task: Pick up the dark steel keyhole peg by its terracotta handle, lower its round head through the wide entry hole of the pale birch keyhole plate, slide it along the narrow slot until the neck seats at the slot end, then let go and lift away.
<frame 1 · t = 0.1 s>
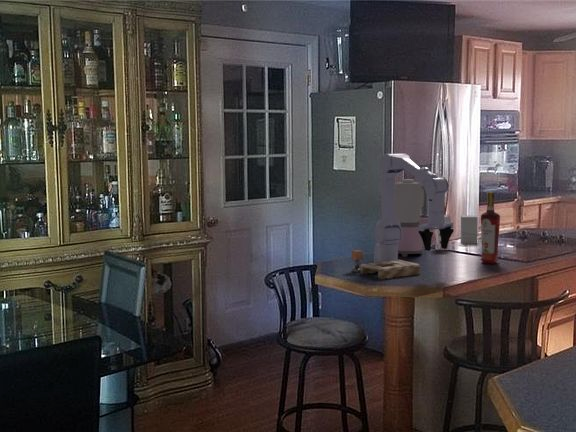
hand: (435, 249, 252), 10 cm above the worktop, fingers open, 7 cm apart
keyhole plate: (390, 274, 260), on the worktop
supplement box: (468, 242, 332), on the worktop
liquor: (489, 263, 279), on the worktop
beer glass: (442, 249, 314), on the worktop
keyhole peg: (357, 271, 266), on the worktop
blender: (410, 254, 303), on the worktop
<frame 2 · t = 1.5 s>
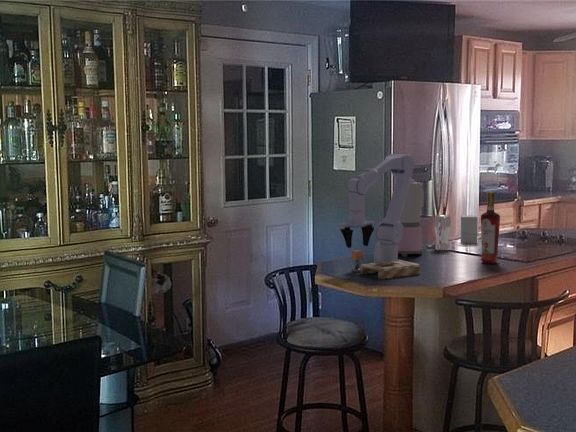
hand: (357, 246, 265), 9 cm above the worktop, fingers open, 7 cm apart
nothing on the worktop moved.
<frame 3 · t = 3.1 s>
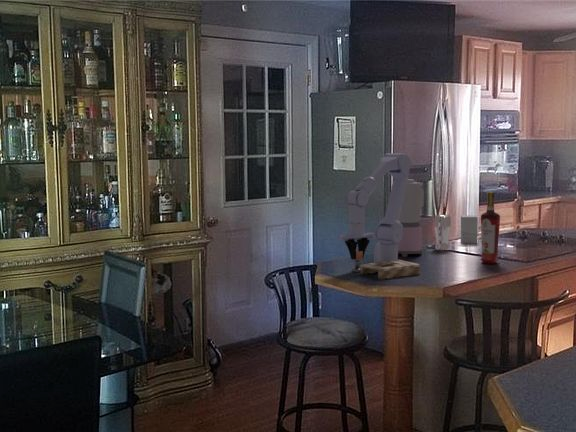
hand: (357, 258, 266), 5 cm above the worktop, fingers closed on keyhole peg, 3 cm apart
keyhole peg: (357, 271, 266), on the worktop, touching gripper
everything else where it was.
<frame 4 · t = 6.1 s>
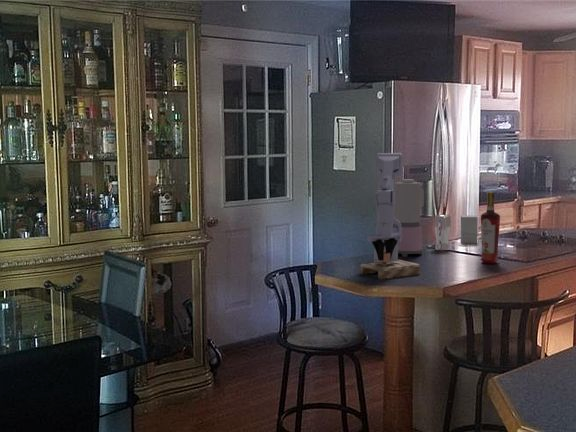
hand: (384, 259, 258), 6 cm above the worktop, fingers closed on keyhole peg, 3 cm apart
keyhole peg: (384, 273, 259), on the worktop, touching gripper
everything else where it was.
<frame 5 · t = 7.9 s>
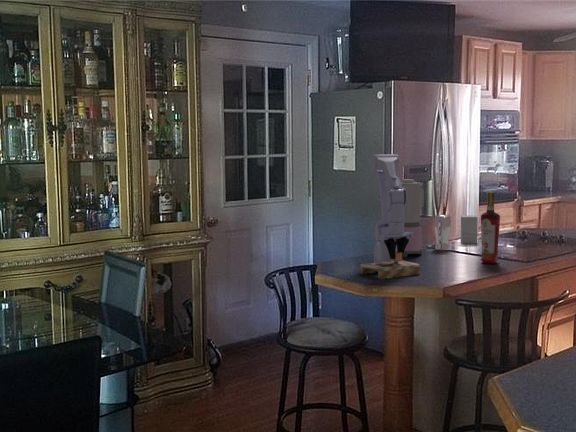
hand: (396, 258, 261), 6 cm above the worktop, fingers closed on keyhole peg, 3 cm apart
keyhole peg: (395, 272, 262), on the worktop, touching gripper
everything else where it was.
when the fingers open (6 cm above the worktop, at t = 9.0 s): keyhole peg stays where it is, on the worktop.
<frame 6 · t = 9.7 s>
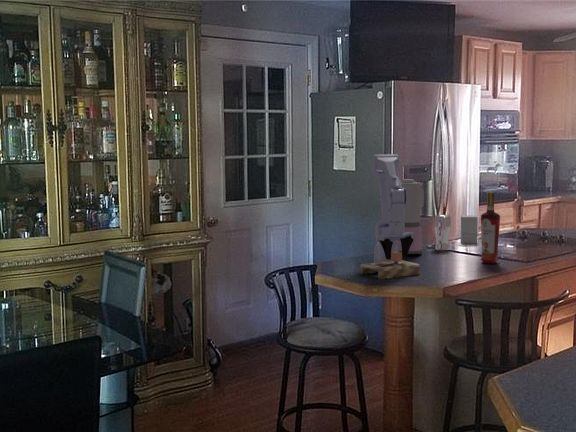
hand: (396, 258, 261), 6 cm above the worktop, fingers open, 7 cm apart
keyhole peg: (396, 273, 262), on the worktop
everything else where it was.
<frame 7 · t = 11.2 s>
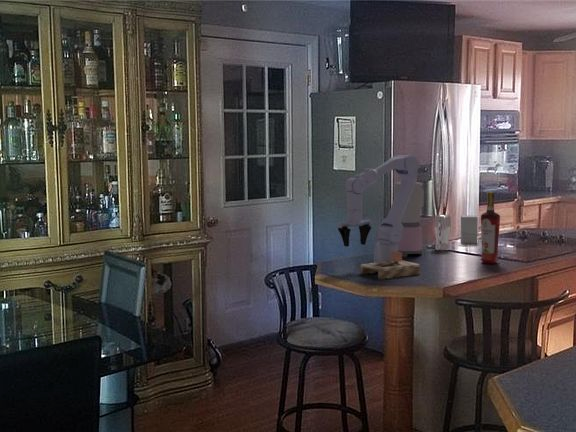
hand: (354, 245, 268), 9 cm above the worktop, fingers open, 7 cm apart
nothing on the worktop moved.
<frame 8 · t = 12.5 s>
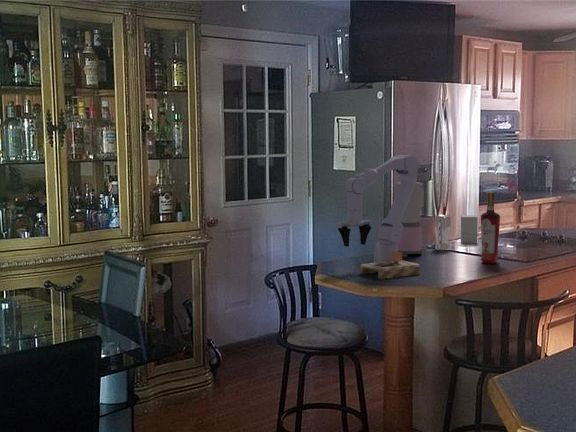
hand: (354, 245, 268), 9 cm above the worktop, fingers open, 7 cm apart
nothing on the worktop moved.
at the end: keyhole peg 0.2 cm from the target spot on the keyhole plate, point 0.0 cm above the keyhole plate's base; keyhole peg tilted 0°; the gripper is holding nothing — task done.
